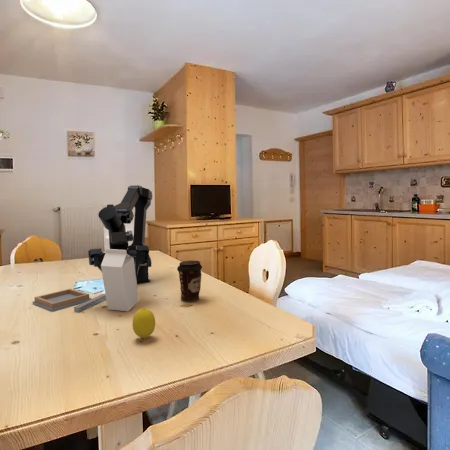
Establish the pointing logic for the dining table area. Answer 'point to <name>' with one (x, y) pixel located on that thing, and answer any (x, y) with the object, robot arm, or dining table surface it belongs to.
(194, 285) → the coffee cup
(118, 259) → the milk carton
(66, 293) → the brown and grey tray
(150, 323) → the lemon
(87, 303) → the steel rail
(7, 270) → the dining table surface
